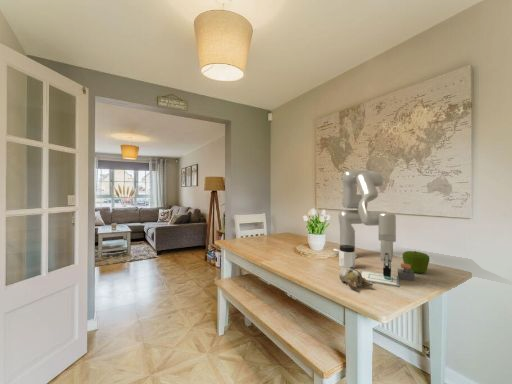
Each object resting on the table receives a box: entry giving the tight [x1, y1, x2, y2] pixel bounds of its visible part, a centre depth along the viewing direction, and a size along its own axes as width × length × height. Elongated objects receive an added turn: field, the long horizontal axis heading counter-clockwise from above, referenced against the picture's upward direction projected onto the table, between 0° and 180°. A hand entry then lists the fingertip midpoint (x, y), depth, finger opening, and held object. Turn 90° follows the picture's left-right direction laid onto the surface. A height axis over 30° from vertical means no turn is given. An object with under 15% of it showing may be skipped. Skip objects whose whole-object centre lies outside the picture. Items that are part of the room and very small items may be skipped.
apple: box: [402, 250, 430, 274], centre depth 132 cm, size 12×12×11 cm
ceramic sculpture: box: [339, 265, 374, 289], centre depth 113 cm, size 11×9×15 cm
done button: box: [400, 262, 411, 273], centre depth 123 cm, size 4×4×4 cm
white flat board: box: [359, 270, 400, 288], centre depth 121 cm, size 18×15×1 cm
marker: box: [382, 260, 392, 280], centre depth 119 cm, size 3×3×9 cm
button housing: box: [397, 268, 415, 282], centre depth 123 cm, size 7×7×3 cm
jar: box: [338, 244, 356, 269], centre depth 141 cm, size 9×8×12 cm
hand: (387, 273), depth 119 cm, fingers open, 6 cm apart
